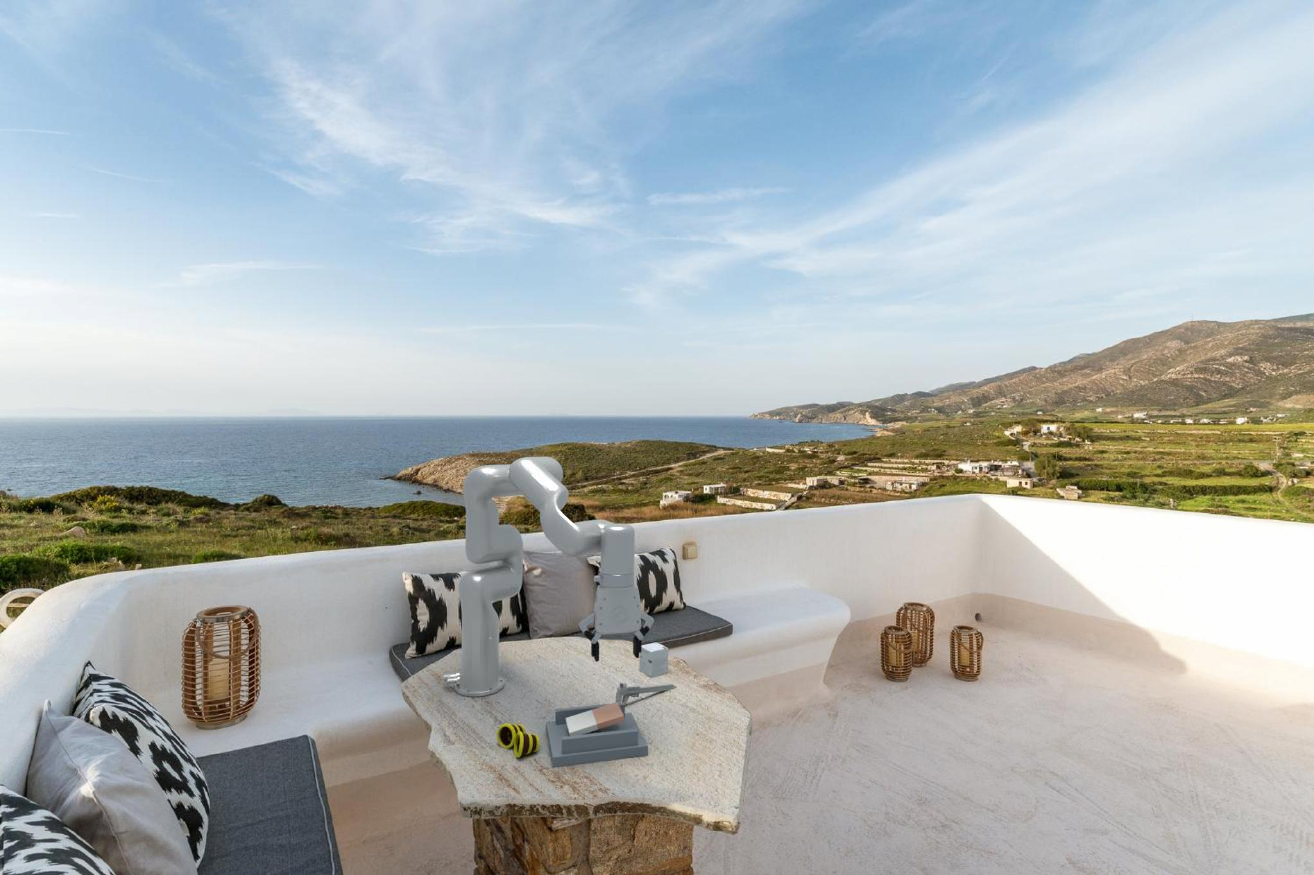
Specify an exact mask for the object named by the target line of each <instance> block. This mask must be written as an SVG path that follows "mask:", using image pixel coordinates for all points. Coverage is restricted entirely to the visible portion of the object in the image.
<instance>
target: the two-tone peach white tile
mask: <svg viewBox="0 0 1314 875" xmlns="http://www.w3.org/2000/svg"><path fill="white" fill-rule="evenodd" d="M608 704H609V705H606V706H603V707H599V708H596V709H593V710H590V711H587V712H584V713H580V714H577V715H574V716H571V717H568V718H566V723H567V727H568V731H569V734H570V736H575V735H583V734H586V733H589V732H592V731H595V730H598V729H601V728H604V727H607V726H610V725H613V724H616V723H619V722H623V721H625V720H624V715H623V713H622V711H621V709H620V707H619V705H618V702H616V701H615V702H612V703H608Z"/></svg>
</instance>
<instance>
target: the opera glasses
mask: <svg viewBox="0 0 1314 875" xmlns="http://www.w3.org/2000/svg"><path fill="white" fill-rule="evenodd" d="M539 737H540V736H539V734H536V733H534V734H532V733H528V732H527V731H526V728H525V727H524V725H523V724H521V723H520V724H518V723H517V724H510V723H503V724H501V725H500V726H499V727H498V729H497V733H496V740H497V742H498V744H499V746H500V747H502V748H503V749H510V748H512V747H513V751H514V756H515V758H518V759H519V758H520V757H521V756H523V755H525V756H526V755H529V754H531V753H537V752H538V751H539V748H540V738H539Z"/></svg>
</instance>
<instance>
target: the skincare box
mask: <svg viewBox="0 0 1314 875" xmlns="http://www.w3.org/2000/svg"><path fill="white" fill-rule="evenodd" d="M668 666H669V647H666V646H665V645H663V644H661V643H658V642H652V643H646V644H643V645H642V650H641V653H639V670H638V671H640V672H641V673H643V674H644V675H646V676H648V677H650V678H654V677H658V676H661V675H662V676H663V675H665V674H668V672H669V670H668V669H669V667H668Z"/></svg>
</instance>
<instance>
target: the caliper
mask: <svg viewBox="0 0 1314 875" xmlns="http://www.w3.org/2000/svg"><path fill="white" fill-rule="evenodd" d="M675 688H677V686H676V685H674V683H671V682H670V683H661V684H660V683H659V684H653V685H643V686H640V685H638V684H636V685H628V684H627V683H626V682H623V683H622V682H619V686H618V687H617V689H616V693H615V694H616V695H615V702H618V703H622V702H624V704H625V707H626V706H627V703H628V701H629V698H630V697H631V698H639V697H640V694H648V693H649V694H650V693H657V692H666V691H670V690H673V689H675Z"/></svg>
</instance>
